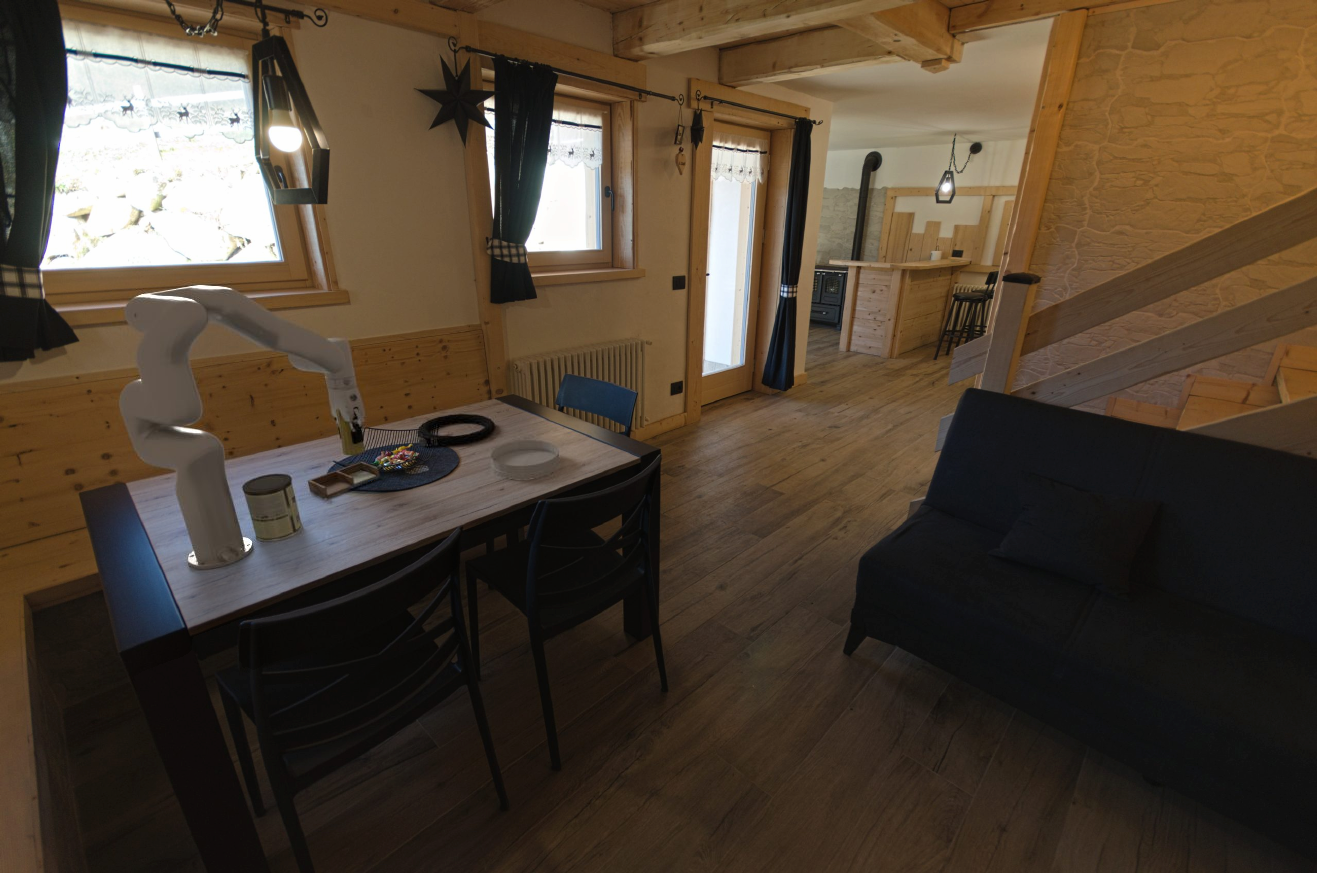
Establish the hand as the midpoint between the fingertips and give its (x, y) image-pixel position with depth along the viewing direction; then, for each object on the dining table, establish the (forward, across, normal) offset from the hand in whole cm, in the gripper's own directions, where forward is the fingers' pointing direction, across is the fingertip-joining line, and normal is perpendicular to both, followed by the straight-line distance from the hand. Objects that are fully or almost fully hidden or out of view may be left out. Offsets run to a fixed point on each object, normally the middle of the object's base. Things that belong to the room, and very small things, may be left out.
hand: (352, 439), depth 172 cm
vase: (+4, 0, 0) cm, 4 cm away
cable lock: (+14, +8, -43) cm, 46 cm away
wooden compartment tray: (+13, 0, +4) cm, 14 cm away
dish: (+14, -34, -37) cm, 52 cm away
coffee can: (+13, -12, +29) cm, 34 cm away
